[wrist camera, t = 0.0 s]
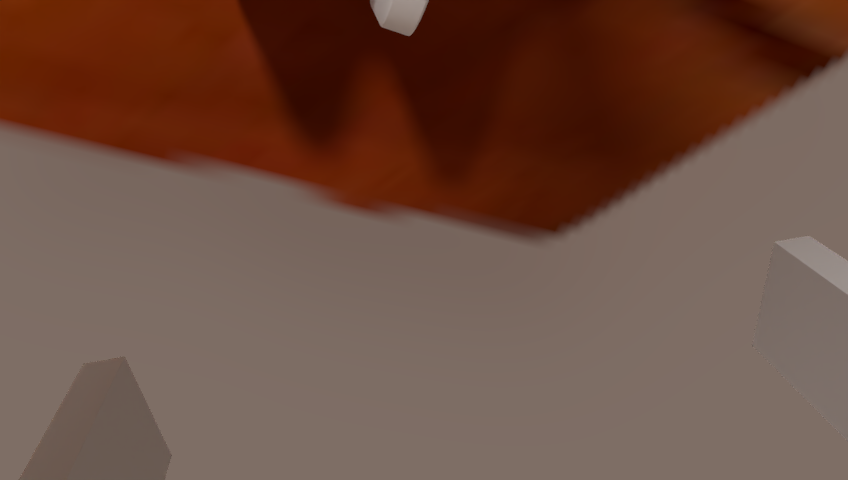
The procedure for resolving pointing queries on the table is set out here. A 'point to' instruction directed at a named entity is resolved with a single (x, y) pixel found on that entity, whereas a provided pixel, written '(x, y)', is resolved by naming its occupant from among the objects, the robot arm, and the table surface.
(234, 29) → the table surface
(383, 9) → the cable organizer
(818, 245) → the robot arm
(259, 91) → the table surface
